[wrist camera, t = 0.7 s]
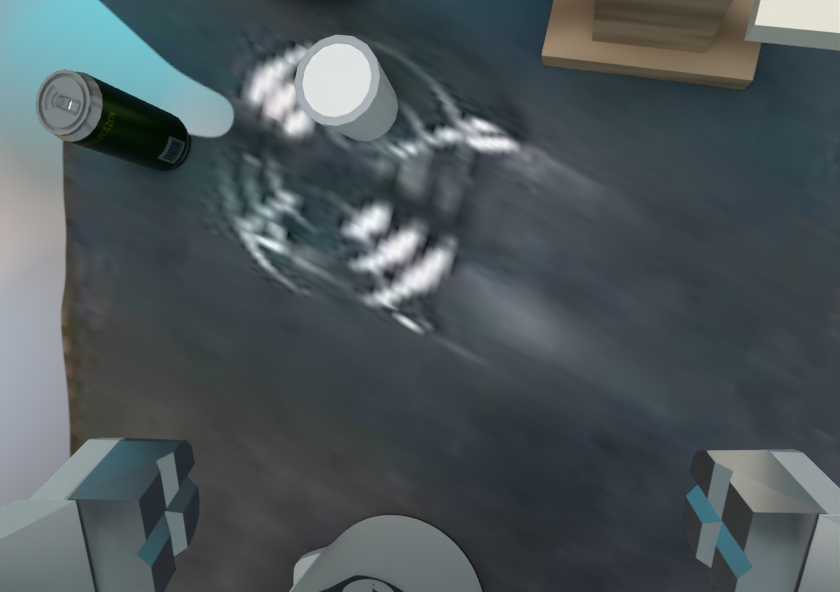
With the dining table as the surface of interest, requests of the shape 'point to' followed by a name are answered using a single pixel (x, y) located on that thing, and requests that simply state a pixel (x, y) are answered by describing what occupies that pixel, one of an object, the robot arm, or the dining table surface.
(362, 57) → the white cylinder
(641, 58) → the wooden post with base
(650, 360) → the dining table surface
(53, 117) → the beer can
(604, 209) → the dining table surface
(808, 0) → the white block with handle
